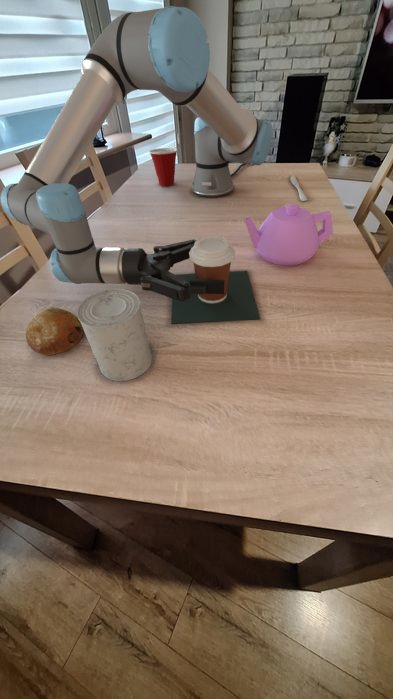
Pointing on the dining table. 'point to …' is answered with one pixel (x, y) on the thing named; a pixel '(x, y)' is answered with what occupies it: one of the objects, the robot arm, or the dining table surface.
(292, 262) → the teapot
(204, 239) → the coffee cup
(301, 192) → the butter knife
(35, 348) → the bread roll
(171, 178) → the plastic cup
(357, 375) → the dining table surface
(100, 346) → the grey tin can
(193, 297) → the mat
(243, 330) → the dining table surface
